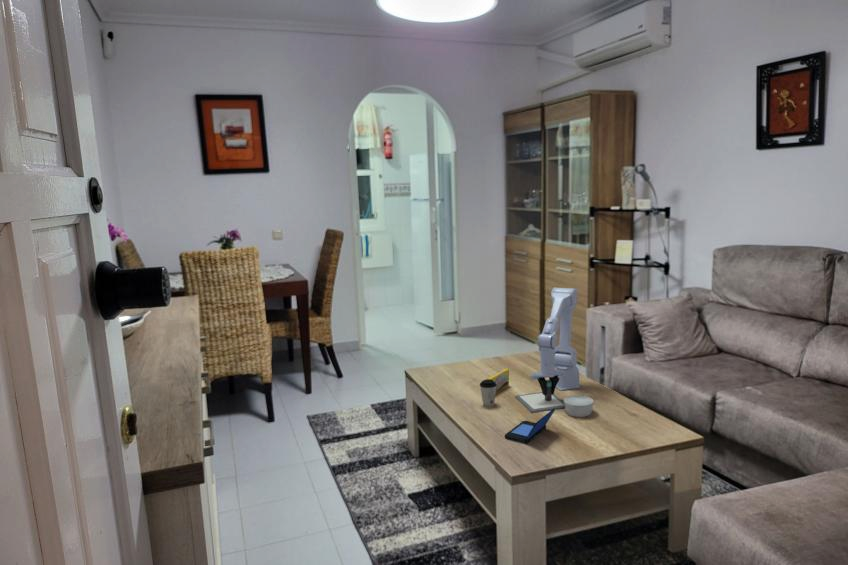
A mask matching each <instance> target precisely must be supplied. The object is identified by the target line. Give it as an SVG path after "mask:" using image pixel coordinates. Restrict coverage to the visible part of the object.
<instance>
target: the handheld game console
mask: <svg viewBox="0 0 848 565" xmlns="http://www.w3.org/2000/svg"><path fill="white" fill-rule="evenodd" d="M555 411H556V409H555V408H554V409H553V410H549V412H547V413H546V414H545V415H543V417H541V418H539V420H537V421H536V422H533V421H528V420H523V421H521V422H520V423H519V424H517V425H515V427H513V428H512V429H511V430H509V431H507V432H506V433H505V434H504V438H505V439H507V440H510V441H513V442H516V443H521V444H524V445H528V444H529V443H530V442H531V441H532V440H533V439H534V438H535V436H537V435H539V434H540V433H542V432H543V431H544V430H546V428H547V423H548V422H549V421H550V419H551V418H552V416H553V415H554V413H555Z"/></svg>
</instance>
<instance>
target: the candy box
mask: <svg viewBox="0 0 848 565" xmlns="http://www.w3.org/2000/svg"><path fill="white" fill-rule="evenodd" d="M487 379H491V380H493V381H494V382H495V383H496V392H495V395H497V394H498V393H500V392H502V391H503V390H505V389H506V388H508V387H510V370H509V368H504V369H502V370H500V371H498V372H497V373H494V374H493V375H492V376H489V377H488V378H487Z"/></svg>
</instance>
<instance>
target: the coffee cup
mask: <svg viewBox="0 0 848 565" xmlns="http://www.w3.org/2000/svg"><path fill="white" fill-rule="evenodd" d="M479 387H480V392H481V400H482V405H483V407H486V408H487V407H488V408H489V407H494V406H495V404H496V403H495V402H496V401H495V400H496V394H495V392H496V383H495V382H494V381H493V380H491V379H488V378H486V379H483V380H482V381H481V382H480V383H479Z"/></svg>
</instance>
